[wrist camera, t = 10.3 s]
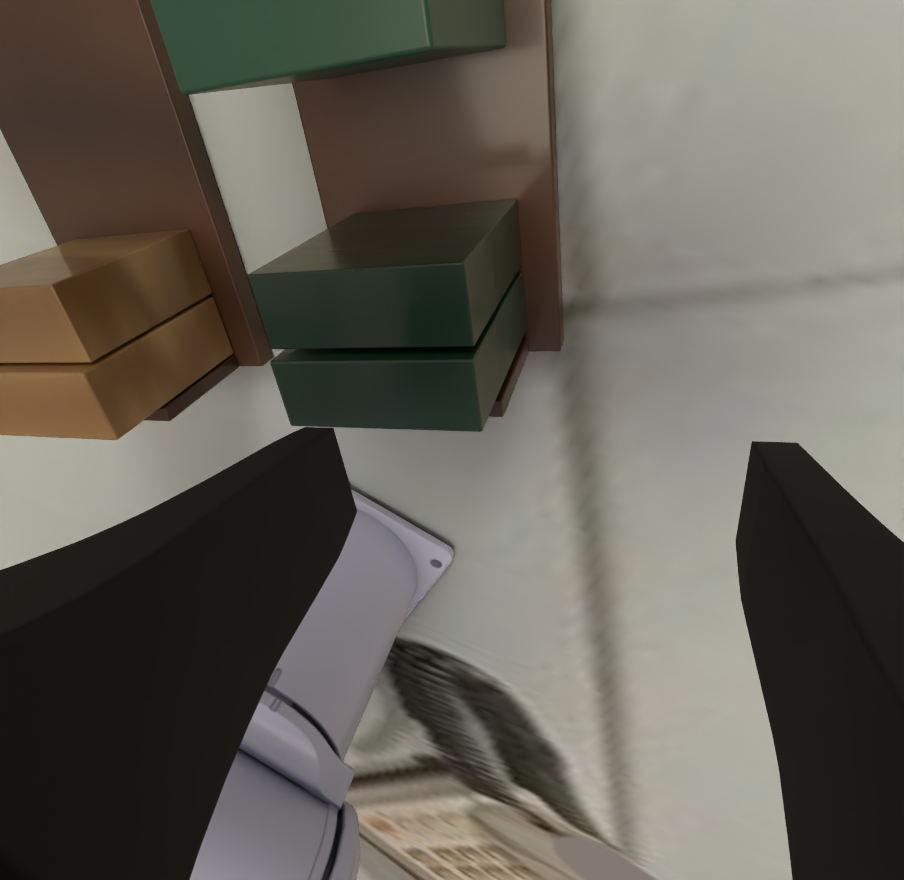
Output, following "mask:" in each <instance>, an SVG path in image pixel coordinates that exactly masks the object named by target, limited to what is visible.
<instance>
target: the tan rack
mask: <svg viewBox="0 0 904 880" xmlns="http://www.w3.org/2000/svg"><path fill="white" fill-rule="evenodd" d="M0 129H1V131H2V133H3V135H4V137H5V139H6V141H7V144H8V146H9V148H10V150H11V152H12V154H13V156H14V158H15V160H16V162H17V164H18V166H19V168H20V170H21V172H22V174H23V176H24V178H25V180H26V182H27V184H28V187H29V189H30V191H31V193H32V195H33V197H34V199H35V201H36V203H37V205H38V207H39V209H40V211H41V213H42V215H43V217H44V219H45V221H46V223H47V225H48V227H49V229H50V232H51V234H52V236H53V238H54V240H55V242H56V244H57V246H55V247H52V248H49V249H46V250H43V251H40V252H37V253H34V254H31V255H28V256H26V257H23V258H20V259H17V260H14V261H11V262H8V263H5V264H2V265H0V435H14V436H37V437H59V438H82V439H104V440H117V439H119V438H120V437H122V436H123V435H124V434H126V433H127V432H128V431H130V430H131V429H133V428H134V427H135V426H137V425H138V424H139V423H141V422H142V421H143V420H152V421H171V420H172V419H173V418H175V417H176V416H177V415H178V414H180V413H181V412H182V411H183V410H185V409H186V408H187V407H188V406H190V405H191V404H192V403H194V402H195V401H196V400H197V399H199V398H200V397H201V396H202V395H204V394H205V393H206V392H208V391H209V390H210V389H211V388H213V387H214V386H215V385H216V384H218V383H219V382H220V381H221V380H223V379H224V378H225V377H227V376H228V375H229V374H230V373H232V372H233V371H234V370H235V369H237V368H238V367H239V366H263V365H264V364H266V363H267V362H268V361H269V360H270V359H272V358H273V355H272V352H271V349H270V346H269V343H268V340H267V337H266V334H265V331H264V328H263V325H262V322H261V319H260V315H259V312H258V309H257V306H256V303H255V300H254V297H253V294H252V291H251V288H250V285H249V282H248V279H247V276H246V273H245V270H244V267H243V264H242V261H241V258H240V254H239V251H238V248H237V245H236V242H235V239H234V236H233V233H232V230H231V227H230V224H229V221H228V218H227V215H226V212H225V209H224V206H223V203H222V200H221V197H220V193H219V190H218V187H217V184H216V181H215V178H214V175H213V172H212V169H211V166H210V163H209V160H208V157H207V154H206V151H205V148H204V145H203V142H202V139H201V136H200V132H199V129H198V126H197V123H196V120H195V117H194V114H193V111H192V108H191V105H190V102H189V99H188V96H187V95H185V94H183V93H181V91H180V89H179V86H178V83H177V80H176V77H175V74H174V71H173V68H172V65H171V62H170V59H169V56H168V53H167V50H166V47H165V44H164V41H163V38H162V35H161V32H160V29H159V26H158V23H157V20H156V17H155V14H154V11H153V8H152V5H151V2H150V0H0Z"/></svg>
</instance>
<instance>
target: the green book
mask: <svg viewBox="0 0 904 880" xmlns="http://www.w3.org/2000/svg"><path fill="white" fill-rule="evenodd" d="M150 2H151V5H152V8H153V11H154V14H155V17H156V20H157V23H158V26H159V29H160V32H161V35H162V38H163V41H164V44H165V47H166V50H167V53H168V56H169V59H170V62H171V65H172V68H173V71H174V74H175V77H176V80H177V83H178V86H179V89H180V91H181V93H183V94H185V95H189V94H198V93H207V92H216V91H224V90H233V89H242V88H251V87H260V86H269V85H278V84H286V83H295V82H304V81H313V80H322V79H329V78H335V77H340V76H346V75H352V74H358V73H364V72H369V71H375V70H381V69H387V68H392V67H398V66H404V65H410V64H416V63H421V62H427V61H433V60H439V59H444V58H450V57H456V56H462V55H468V54H473V53H479V52H485V51H491V50H496V49H502V48H504V47H505V45H506V41H505V27H504V13H503V0H150Z"/></svg>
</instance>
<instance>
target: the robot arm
mask: <svg viewBox="0 0 904 880" xmlns="http://www.w3.org/2000/svg"><path fill="white" fill-rule="evenodd" d="M736 552H737V563H738V574H739V584H740V593H741V601H742V605H743V610H744V614H745V619H746V623H747V627H748V632H749V636H750V640H751V645H752V649H753V653H754V658H755V662H756V666H757V670H758V675H759V679H760V683H761V687H762V692H763V696H764V700H765V705H766V709H767V713H768V717H769V722H770V726H771V730H772V734H773V739H774V745H775V750H776V755H777V761H778V766H779V773H780V780H781V788H782V796H783V804H784V811H785V819H786V827H787V835H788V843H789V851H790V860H791V869H792V877H793V880H904V542H903V541H901V540H900V539H899V538H898V537H897V536H895V535H894V534H893V533H892V532H891V531H890V530H889V529H888V528H886V527H885V526H884V525H883V524H882V523H881V522H880V521H879V520H877V519H876V518H875V517H874V516H873V515H872V514H871V513H870V512H869V511H868V510H866V509H865V508H864V507H863V506H862V505H861V504H860V503H859V502H858V501H857V500H856V499H855V498H854V497H852V496H851V495H850V494H849V493H848V492H847V491H846V490H845V489H844V488H843V487H842V486H841V485H840V484H839V483H838V482H837V481H836V480H835V479H834V478H833V477H832V476H831V475H830V474H829V473H828V472H827V471H826V470H825V469H824V468H823V467H821V466H820V465H819V464H818V463H817V462H816V461H815V460H814V459H813V458H812V457H811V456H810V455H809V454H808V453H807V452H806V451H805V450H804V449H803V448H802V447H801V446H800V445H799V444H798V443H785V442H754V441H752V444H751V450H750V456H749V462H748V469H747V475H746V481H745V487H744V493H743V499H742V505H741V512H740V518H739V524H738V530H737V536H736ZM453 557H454V551H453V549H452V548H451V547H450V546H448V545H447V544H445V543H443V542H442V541H440V540H438V539H436V538H435V537H433V536H431V535H430V534H428V533H426V532H424V531H423V530H421V529H419V528H418V527H416V526H414V525H412V524H411V523H409V522H407V521H405V520H404V519H402V518H400V517H399V516H397V515H395V514H393V513H392V512H390V511H388V510H387V509H385V508H383V507H381V506H380V505H378V504H376V503H374V502H373V501H371V500H369V499H368V498H366V497H364V496H362V495H361V494H359V493H357V492H356V491H354V490H352V489H351V488H350V484H349V481H348V477H347V474H346V470H345V467H344V463H343V460H342V456H341V453H340V449H339V446H338V443H337V439H336V436H335V432H334V429H333V428H314V427H305V428H302V429H300V430H298V431H295V432H293V433H291V434H289V435H287V436H285V437H283V438H281V439H279V440H277V441H275V442H273V443H272V444H270V445H268V446H266V447H264V448H262V449H261V450H259V451H257V452H255V453H253V454H252V455H250V456H248V457H246V458H245V459H243V460H241V461H239V462H237V463H236V464H234V465H232V466H230V467H228V468H227V469H225V470H223V471H221V472H220V473H218V474H216V475H214V476H212V477H211V478H209V479H207V480H205V481H203V482H201V483H200V484H198V485H196V486H194V487H192V488H190V489H188V490H186V491H184V492H182V493H180V494H179V495H177V496H175V497H173V498H171V499H169V500H167V501H165V502H163V503H161V504H159V505H157V506H156V507H154V508H152V509H150V510H148V511H146V512H144V513H141V514H139V515H137V516H135V517H133V518H131V519H129V520H127V521H124V522H122V523H120V524H118V525H116V526H113V527H111V528H109V529H106V530H104V531H102V532H99V533H97V534H95V535H93V536H90V537H88V538H85V539H83V540H81V541H78V542H76V543H73V544H70V545H68V546H65V547H62V548H60V549H57V550H54V551H52V552H49V553H46V554H44V555H41V556H38V557H36V558H33V559H30V560H28V561H25V562H22V563H20V564H17V565H14V566H11V567H8V568H5V569H3V570H0V880H356V878H357V873H358V868H359V861H360V839H359V824H358V816H357V813H356V811H355V808H354V807H353V806H352V805H350V804H349V803H347V802H346V801H344V799H345V796H346V794H347V791H348V789H349V786H350V784H351V781H352V779H353V776H354V774H355V770H354V769H353V768H352V767H350V766H349V765H347V764H346V763H345V762H343V760H344V757H345V755H346V753H347V750H348V748H349V746H350V743H351V741H352V739H353V736H354V734H355V732H356V729H357V727H358V725H359V722H360V720H361V718H362V715H363V713H364V711H365V708H366V706H367V704H368V701H369V699H370V697H371V694H372V692H373V689H374V687H375V685H376V682H377V680H378V678H379V675H380V673H381V671H382V668H383V666H384V664H385V661H386V659H387V657H388V654H389V652H390V650H391V647H392V645H393V643H394V640H395V638H396V636H397V633H398V631H399V629H400V626H401V624H402V623H403V622H404V621H405V619H406V618H407V617H408V616H409V614H410V613H411V612H412V611H413V609H414V608H415V607H416V606H417V604H418V603H419V602H420V601H421V599H422V598H423V597H424V596H425V594H426V593H427V592H428V591H429V589H430V588H431V587H432V586H433V584H434V583H435V582H436V581H437V580H438V578H439V577H440V576H441V575H442V573H443V572H444V571H445V570H446V568H447V567H448V566H449V565H450V563H451V562H452V559H453ZM435 559H436V560H439V561H440V562H439V561H436V560H435Z"/></svg>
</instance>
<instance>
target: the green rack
mask: <svg viewBox="0 0 904 880" xmlns="http://www.w3.org/2000/svg"><path fill="white" fill-rule="evenodd" d="M503 13H504V27H505V41H506V45H505V47H504V48H502V49H496V50H491V51H485V52H479V53H473V54H468V55H462V56H456V57H450V58H444V59H439V60H433V61H427V62H421V63H416V64H410V65H404V66H398V67H392V68H387V69H381V70H375V71H369V72H364V73H358V74H352V75H346V76H340V77H335V78H329V79H322V80H313V81H304V82H295V83H292V84H293V88H294V92H295V96H296V100H297V105H298V109H299V113H300V117H301V121H302V125H303V129H304V133H305V137H306V142H307V146H308V150H309V154H310V158H311V162H312V166H313V170H314V175H315V179H316V183H317V187H318V191H319V195H320V199H321V203H322V208H323V212H324V216H325V220H326V224H327V228H328V229H327V230H325V231H323V232H321V233H320V234H318V235H316V236H314V237H313V238H311V239H309V240H308V241H306V242H304V243H302V244H301V245H299V246H297V247H295V248H294V249H292V250H290V251H288V252H287V253H285V254H283V255H282V256H280V257H278V258H276V259H275V260H273V261H271V262H269V263H268V264H266V265H264V266H263V267H261V268H259V269H257V270H256V271H254V272H252V273H250V274H249V275H248V280H249V283H250V286H251V289H252V292H253V295H254V298H255V301H256V304H257V307H258V310H259V313H260V316H261V319H262V322H263V326H264V329H265V332H266V335H267V338H268V341H269V344H270V347H271V349H285V350H284V351H283V352H281V353H280V354H279V355H278V356H277V357H275V358H274V359H273V360H272V361H271V367H272V370H273V373H274V376H275V379H276V382H277V385H278V388H279V391H280V394H281V397H282V400H283V403H284V406H285V409H286V412H287V415H288V418H289V421H290V424H291V425H292V426H318V427H350V428H382V429H414V430H446V431H478V432H480V431H482V430H483V428H484V426H485V423H486V421H487V419H488V417H503V416H504V413H505V411H506V408H507V405H508V403H509V400H510V398H511V395H512V393H513V390H514V388H515V385H516V383H517V380H518V378H519V375H520V372H521V370H522V367H523V365H524V362H525V360H526V357H527V355H528V352H530V351H560V350H561V348H562V344H563V341H564V335H563V309H562V283H561V256H560V230H559V203H558V177H557V151H556V124H555V98H554V71H553V45H552V19H551V0H503Z"/></svg>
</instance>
